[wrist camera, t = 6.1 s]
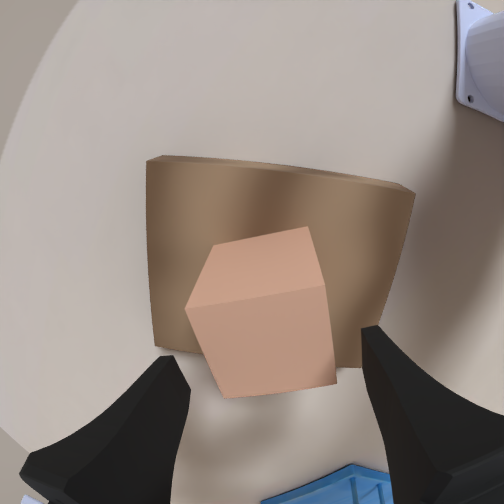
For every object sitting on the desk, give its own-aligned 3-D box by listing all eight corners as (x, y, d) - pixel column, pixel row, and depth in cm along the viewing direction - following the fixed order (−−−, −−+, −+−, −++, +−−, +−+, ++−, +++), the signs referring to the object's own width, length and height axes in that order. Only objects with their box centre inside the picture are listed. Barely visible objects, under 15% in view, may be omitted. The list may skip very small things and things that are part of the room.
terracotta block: (308, 226, 16) (324, 284, 10) (321, 307, 18) (337, 383, 12) (213, 245, 17) (184, 308, 11) (237, 321, 18) (223, 398, 13)
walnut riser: (398, 183, 17) (415, 193, 15) (354, 345, 22) (361, 367, 19) (162, 155, 17) (146, 160, 15) (165, 324, 22) (155, 345, 20)
